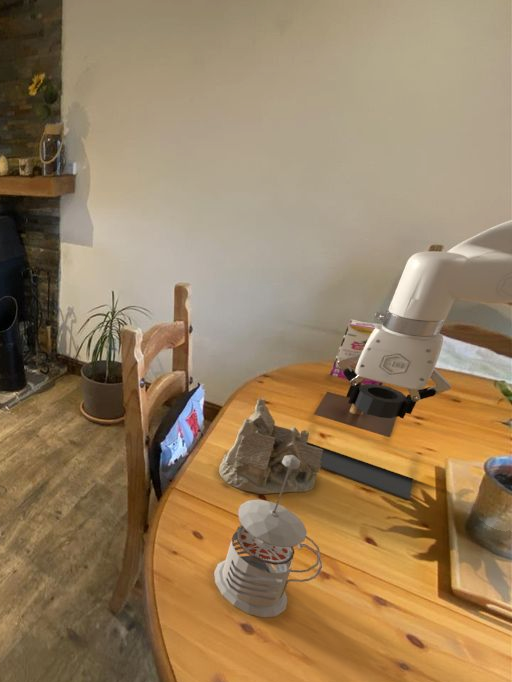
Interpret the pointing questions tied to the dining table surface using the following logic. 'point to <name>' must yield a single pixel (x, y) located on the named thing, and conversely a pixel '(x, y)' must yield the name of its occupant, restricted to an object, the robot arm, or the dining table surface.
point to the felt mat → (366, 473)
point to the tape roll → (379, 400)
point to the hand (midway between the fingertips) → (376, 407)
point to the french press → (263, 555)
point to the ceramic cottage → (269, 456)
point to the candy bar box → (354, 346)
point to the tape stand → (352, 415)
